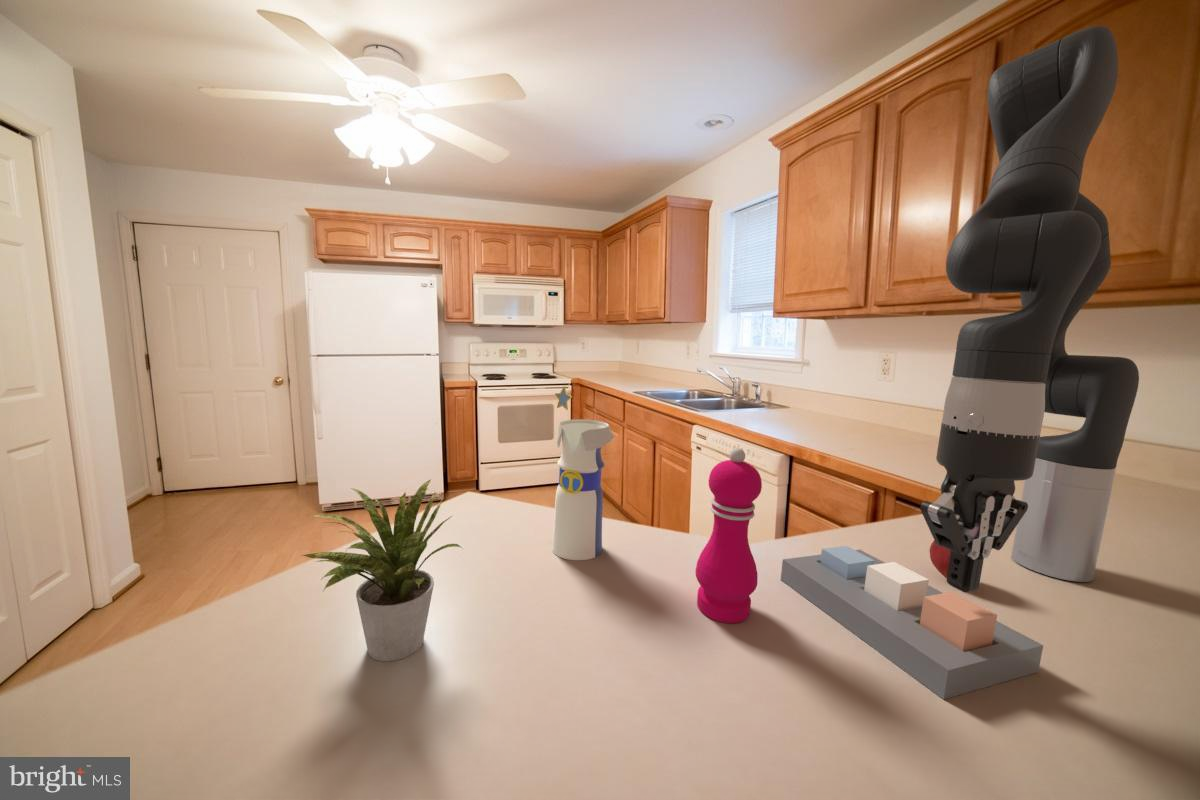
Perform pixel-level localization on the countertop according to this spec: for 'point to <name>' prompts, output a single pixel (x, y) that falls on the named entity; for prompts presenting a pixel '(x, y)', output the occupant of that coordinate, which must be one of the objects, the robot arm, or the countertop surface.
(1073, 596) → the countertop surface
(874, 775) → the countertop surface
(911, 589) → the white key
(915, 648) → the board
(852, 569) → the blue key
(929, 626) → the terracotta key
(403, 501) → the house plant
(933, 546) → the onion
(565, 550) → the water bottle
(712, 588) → the pepper mill
